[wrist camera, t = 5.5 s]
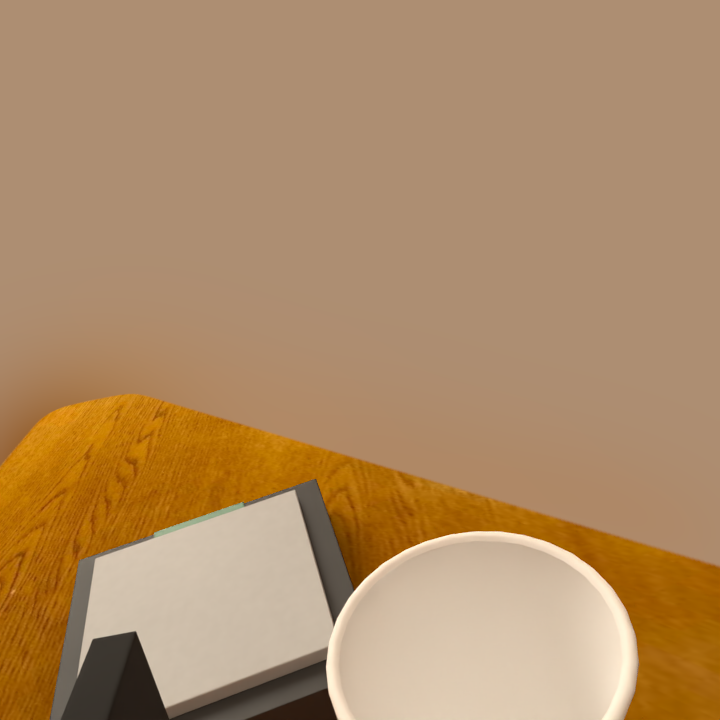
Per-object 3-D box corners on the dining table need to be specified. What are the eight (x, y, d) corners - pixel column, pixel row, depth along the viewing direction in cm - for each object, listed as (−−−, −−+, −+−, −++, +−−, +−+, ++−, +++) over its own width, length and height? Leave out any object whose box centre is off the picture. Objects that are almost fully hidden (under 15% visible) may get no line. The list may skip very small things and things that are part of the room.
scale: (325, 510, 47) (312, 469, 45) (392, 706, 33) (377, 655, 31) (96, 591, 45) (73, 551, 43) (61, 837, 31) (25, 790, 29)
